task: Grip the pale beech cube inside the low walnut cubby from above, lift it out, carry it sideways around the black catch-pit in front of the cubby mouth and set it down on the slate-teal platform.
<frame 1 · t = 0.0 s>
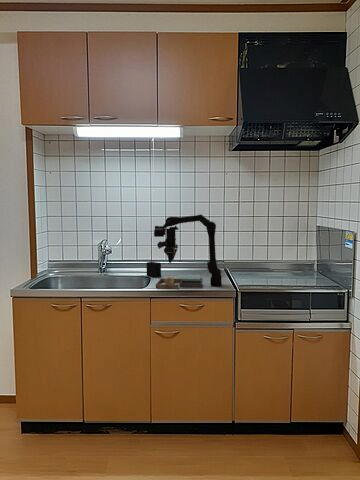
hand: (171, 261, 254), 15 cm above the counter, tool pointing down, fingers open, 9 cm apart
cubby: (169, 285, 252), on the counter
beech cube: (169, 281, 252), in the cubby
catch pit: (191, 286, 251), on the counter
electronic device: (153, 277, 279), on the counter
platform: (188, 280, 268), on the counter
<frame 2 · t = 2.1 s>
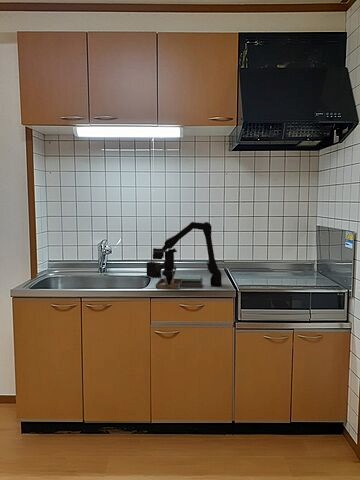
hand: (169, 283, 252), 1 cm above the counter, tool pointing down, fingers closed on beech cube, 5 cm apart
beech cube: (169, 281, 252), in the cubby, touching gripper
everything else where it was.
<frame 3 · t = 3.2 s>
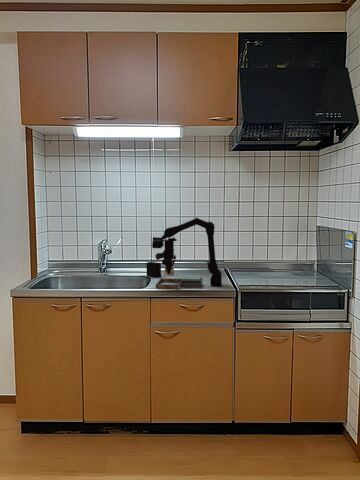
hand: (169, 273, 251), 8 cm above the counter, tool pointing down, fingers closed on beech cube, 5 cm apart
beech cube: (169, 270, 251), point 9 cm above the counter, touching gripper
everything else where it was.
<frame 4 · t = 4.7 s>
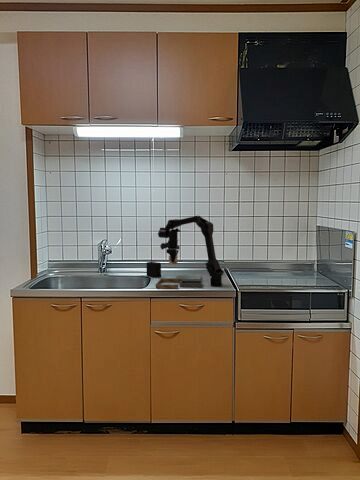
hand: (173, 261, 267), 12 cm above the counter, tool pointing down, fingers closed on beech cube, 5 cm apart
beech cube: (173, 259, 267), point 14 cm above the counter, touching gripper
everything else where it was.
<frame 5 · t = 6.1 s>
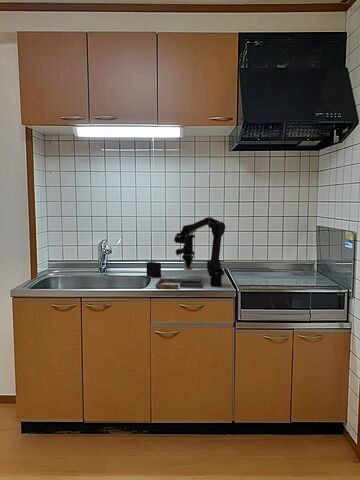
hand: (188, 267, 267), 8 cm above the counter, tool pointing down, fingers closed on beech cube, 5 cm apart
beech cube: (188, 265, 267), point 10 cm above the counter, touching gripper
everything else where it was.
when the fingers open (4 cm above the counter, at t = 7.1 s): beech cube drops 1 cm, resting on platform.
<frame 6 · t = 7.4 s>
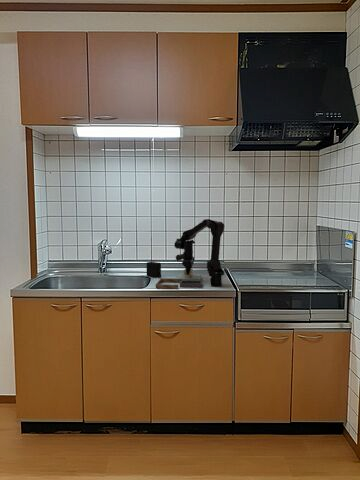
hand: (188, 273, 267), 4 cm above the counter, tool pointing down, fingers open, 8 cm apart
beech cube: (188, 273, 267), on the platform, point 4 cm above the counter
everything else where it was.
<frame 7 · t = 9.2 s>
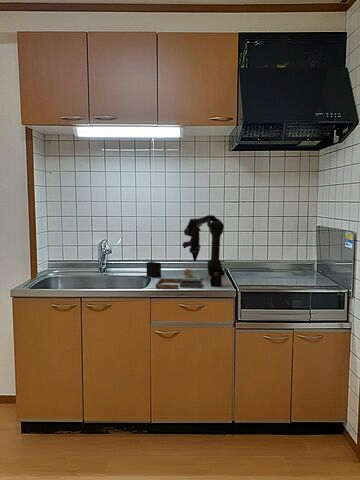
hand: (195, 260, 272), 12 cm above the counter, tool pointing down, fingers open, 9 cm apart
nothing on the counter moved.
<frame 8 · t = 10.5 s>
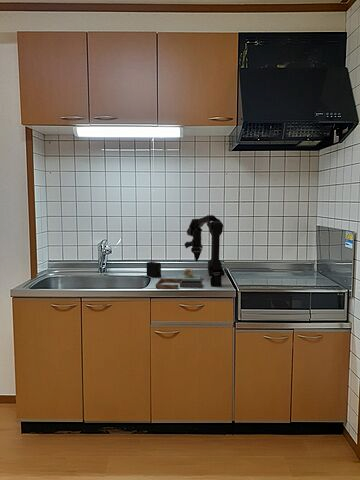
hand: (197, 260, 274), 12 cm above the counter, tool pointing down, fingers open, 9 cm apart
nothing on the counter moved.
at the end: beech cube inside the target area (0.0 cm from its centre), point 4.5 cm above the counter; beech cube tilted 0°; the gripper is holding nothing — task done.
